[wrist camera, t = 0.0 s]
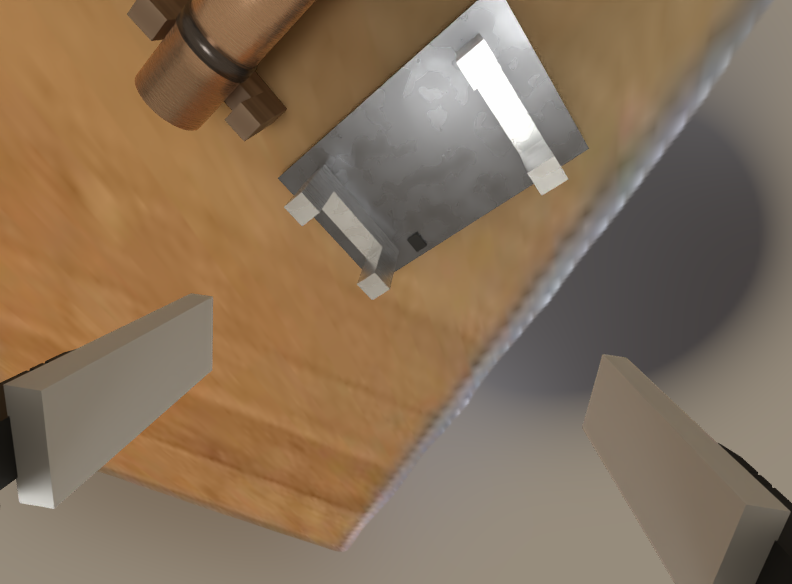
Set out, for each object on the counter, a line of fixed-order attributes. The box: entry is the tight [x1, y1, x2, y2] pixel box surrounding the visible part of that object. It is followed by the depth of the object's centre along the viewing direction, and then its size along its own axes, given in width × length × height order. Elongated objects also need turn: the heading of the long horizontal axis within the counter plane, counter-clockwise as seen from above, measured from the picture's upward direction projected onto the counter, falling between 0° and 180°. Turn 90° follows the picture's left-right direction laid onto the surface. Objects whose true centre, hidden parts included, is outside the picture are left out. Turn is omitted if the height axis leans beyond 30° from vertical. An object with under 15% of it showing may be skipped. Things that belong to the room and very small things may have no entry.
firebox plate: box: [278, 0, 589, 300], centre depth 35 cm, size 23×14×8 cm, turn 129°
